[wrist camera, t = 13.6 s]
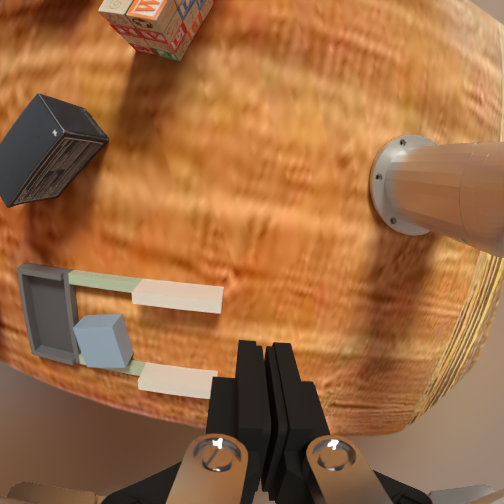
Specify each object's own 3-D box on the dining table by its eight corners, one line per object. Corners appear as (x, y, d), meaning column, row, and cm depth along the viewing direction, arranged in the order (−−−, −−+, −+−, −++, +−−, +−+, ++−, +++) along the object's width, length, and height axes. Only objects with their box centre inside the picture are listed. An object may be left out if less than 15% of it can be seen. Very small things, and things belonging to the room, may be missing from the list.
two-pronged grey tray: (223, 286, 38) (221, 301, 33) (217, 379, 41) (215, 399, 37) (26, 262, 36) (8, 272, 32) (39, 346, 40) (25, 361, 35)
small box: (83, 104, 32) (37, 88, 22) (111, 139, 33) (67, 131, 23) (33, 164, 33) (-19, 167, 23) (57, 199, 34) (7, 211, 24)
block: (122, 312, 39) (112, 326, 35) (134, 351, 40) (125, 367, 36) (85, 315, 39) (72, 328, 35) (97, 352, 40) (87, 367, 36)
